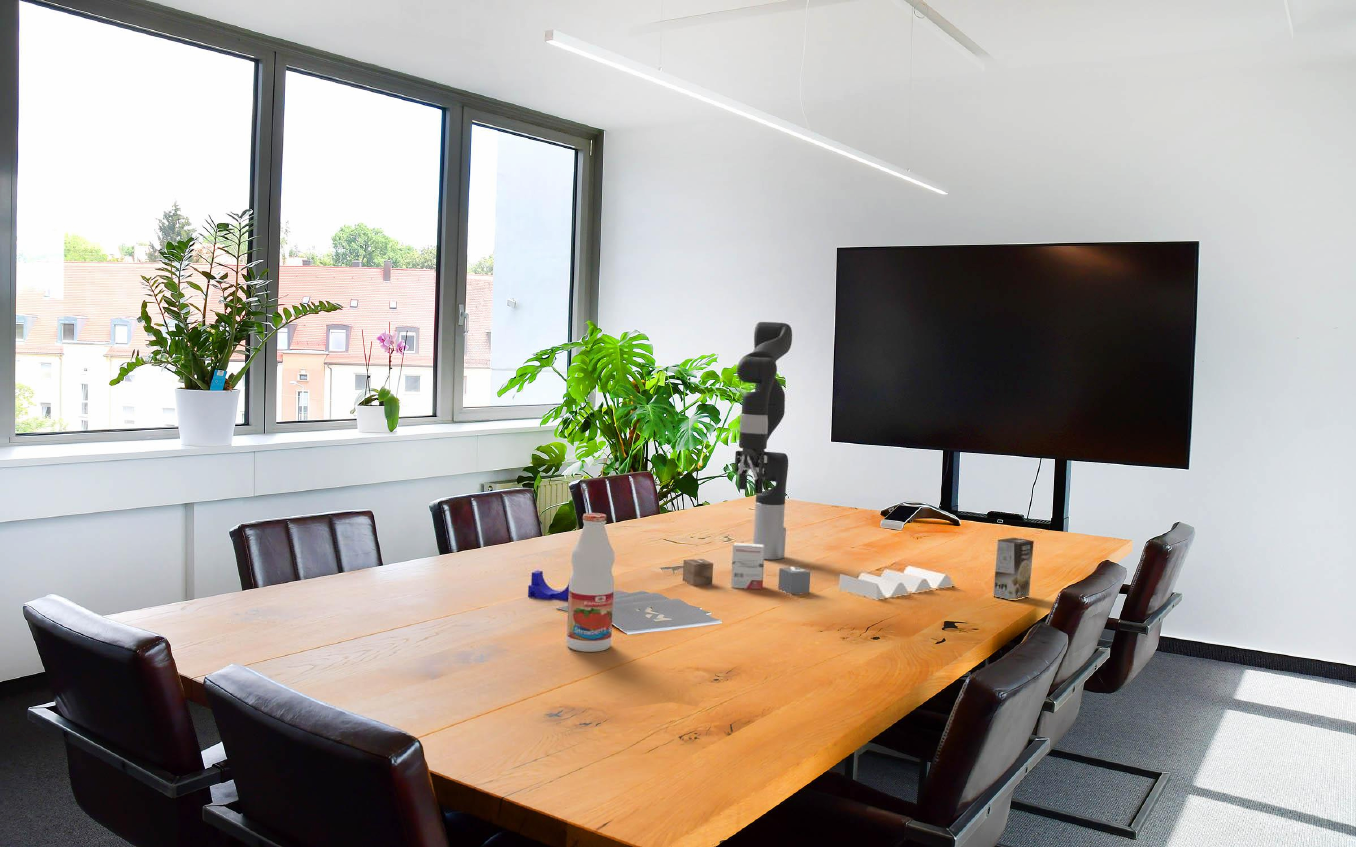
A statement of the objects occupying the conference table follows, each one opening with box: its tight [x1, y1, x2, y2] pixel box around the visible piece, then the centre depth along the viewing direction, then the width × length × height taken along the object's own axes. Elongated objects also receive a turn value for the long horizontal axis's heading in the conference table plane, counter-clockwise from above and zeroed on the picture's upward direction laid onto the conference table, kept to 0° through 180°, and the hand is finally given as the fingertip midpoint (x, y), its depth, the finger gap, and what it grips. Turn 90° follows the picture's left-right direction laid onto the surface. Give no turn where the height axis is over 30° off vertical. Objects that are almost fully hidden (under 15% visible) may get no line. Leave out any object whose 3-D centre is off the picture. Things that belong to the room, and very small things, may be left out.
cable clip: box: [527, 569, 570, 602], centre depth 247 cm, size 12×4×6 cm, turn 71°
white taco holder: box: [838, 565, 954, 599], centre depth 278 cm, size 13×35×5 cm, turn 129°
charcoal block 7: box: [777, 566, 811, 595], centre depth 267 cm, size 6×6×6 cm
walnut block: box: [682, 558, 714, 587], centre depth 271 cm, size 6×6×6 cm
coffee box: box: [992, 537, 1035, 599], centre depth 273 cm, size 9×6×16 cm
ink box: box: [730, 542, 765, 591], centre depth 269 cm, size 9×5×12 cm, turn 84°
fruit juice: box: [566, 512, 616, 653], centre depth 207 cm, size 9×9×28 cm
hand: (750, 491), depth 268 cm, fingers open, 7 cm apart
